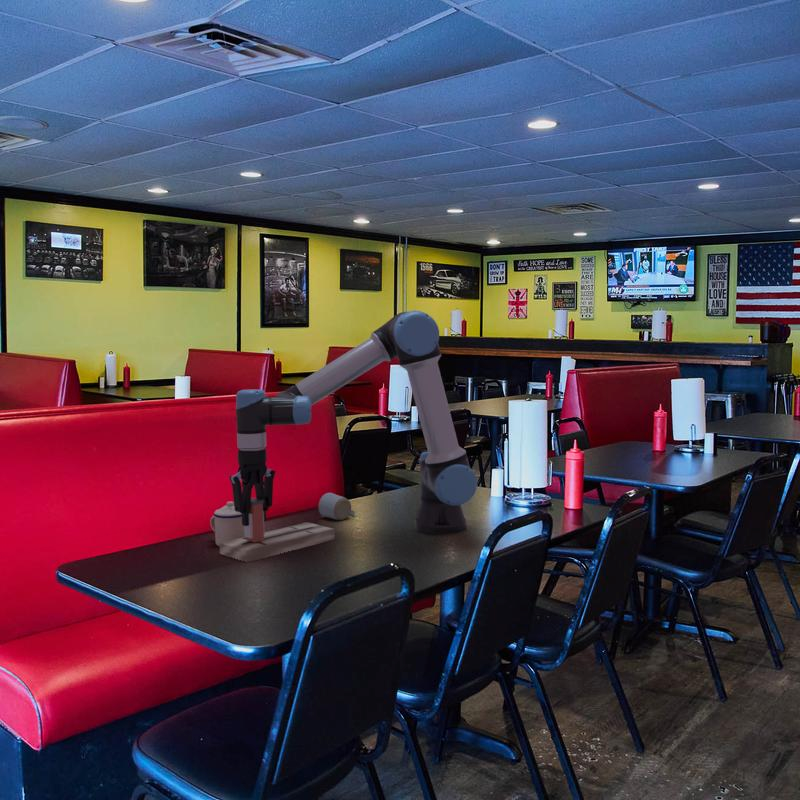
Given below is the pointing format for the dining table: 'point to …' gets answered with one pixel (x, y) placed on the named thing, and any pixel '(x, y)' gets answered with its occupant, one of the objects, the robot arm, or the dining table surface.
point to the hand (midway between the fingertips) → (254, 535)
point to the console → (277, 542)
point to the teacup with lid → (227, 524)
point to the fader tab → (257, 520)
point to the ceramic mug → (335, 506)
